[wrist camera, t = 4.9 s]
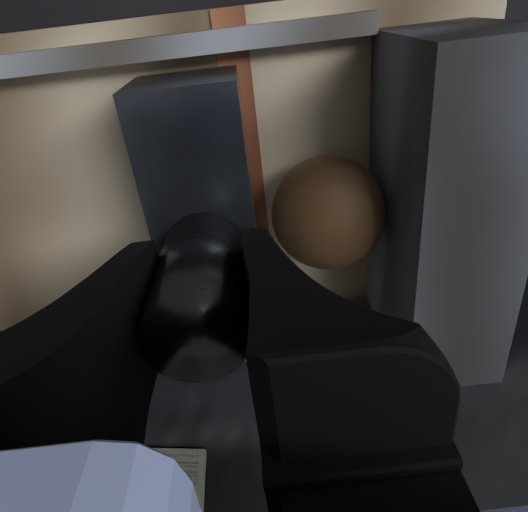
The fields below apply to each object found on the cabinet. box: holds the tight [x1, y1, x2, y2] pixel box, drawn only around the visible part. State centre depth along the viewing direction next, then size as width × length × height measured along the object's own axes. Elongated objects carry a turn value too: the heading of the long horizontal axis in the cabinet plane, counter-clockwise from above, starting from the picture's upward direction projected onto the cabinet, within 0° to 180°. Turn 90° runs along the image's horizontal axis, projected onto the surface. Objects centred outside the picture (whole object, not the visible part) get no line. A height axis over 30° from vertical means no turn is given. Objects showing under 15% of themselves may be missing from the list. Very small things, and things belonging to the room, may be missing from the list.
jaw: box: [112, 65, 257, 383], centre depth 12 cm, size 3×9×7 cm, turn 6°
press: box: [0, 0, 528, 387], centre depth 14 cm, size 19×12×7 cm, turn 96°
